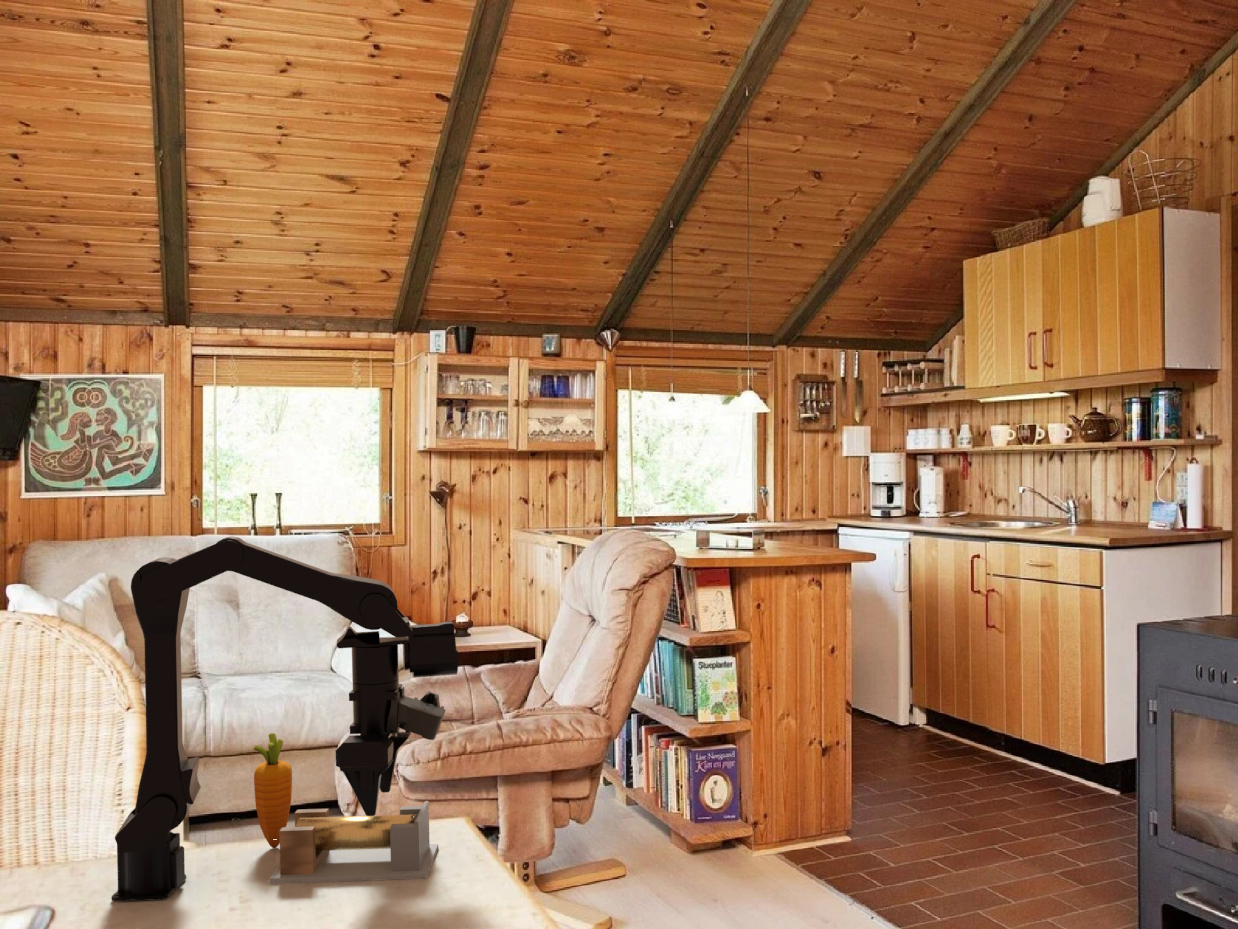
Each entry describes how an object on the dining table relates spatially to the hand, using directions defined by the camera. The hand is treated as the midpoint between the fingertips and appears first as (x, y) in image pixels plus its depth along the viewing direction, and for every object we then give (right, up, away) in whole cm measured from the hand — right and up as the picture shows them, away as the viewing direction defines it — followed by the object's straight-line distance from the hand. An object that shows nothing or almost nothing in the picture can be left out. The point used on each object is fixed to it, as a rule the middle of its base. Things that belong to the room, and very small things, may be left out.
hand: (378, 803), depth 132 cm
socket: (+4, -8, 0) cm, 9 cm away
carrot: (-15, -8, +7) cm, 19 cm away
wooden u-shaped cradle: (-9, -8, 0) cm, 12 cm away
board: (-3, -8, 0) cm, 8 cm away
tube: (-2, -6, 0) cm, 6 cm away
